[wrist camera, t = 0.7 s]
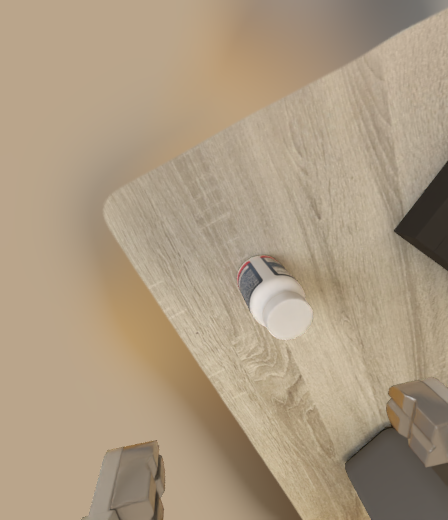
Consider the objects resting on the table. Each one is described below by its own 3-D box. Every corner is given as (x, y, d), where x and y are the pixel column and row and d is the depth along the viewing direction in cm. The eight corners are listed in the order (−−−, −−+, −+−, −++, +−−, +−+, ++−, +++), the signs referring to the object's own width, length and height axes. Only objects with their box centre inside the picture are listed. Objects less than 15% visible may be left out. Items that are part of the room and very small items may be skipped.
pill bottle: (244, 303, 31) (268, 356, 22) (229, 264, 29) (250, 307, 20) (286, 286, 31) (325, 333, 22) (275, 246, 29) (313, 282, 20)
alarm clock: (338, 458, 44) (415, 603, 30) (388, 414, 42) (497, 546, 28) (392, 483, 50) (479, 616, 35) (439, 446, 48) (551, 570, 33)
